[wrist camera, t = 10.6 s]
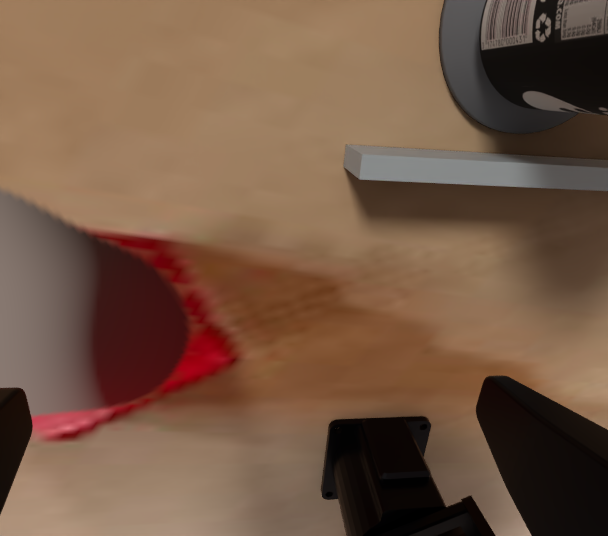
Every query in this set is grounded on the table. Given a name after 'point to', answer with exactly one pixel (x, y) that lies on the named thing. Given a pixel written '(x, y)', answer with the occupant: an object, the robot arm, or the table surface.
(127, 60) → the table surface
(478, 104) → the coaster mat
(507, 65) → the beverage can
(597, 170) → the low wall
